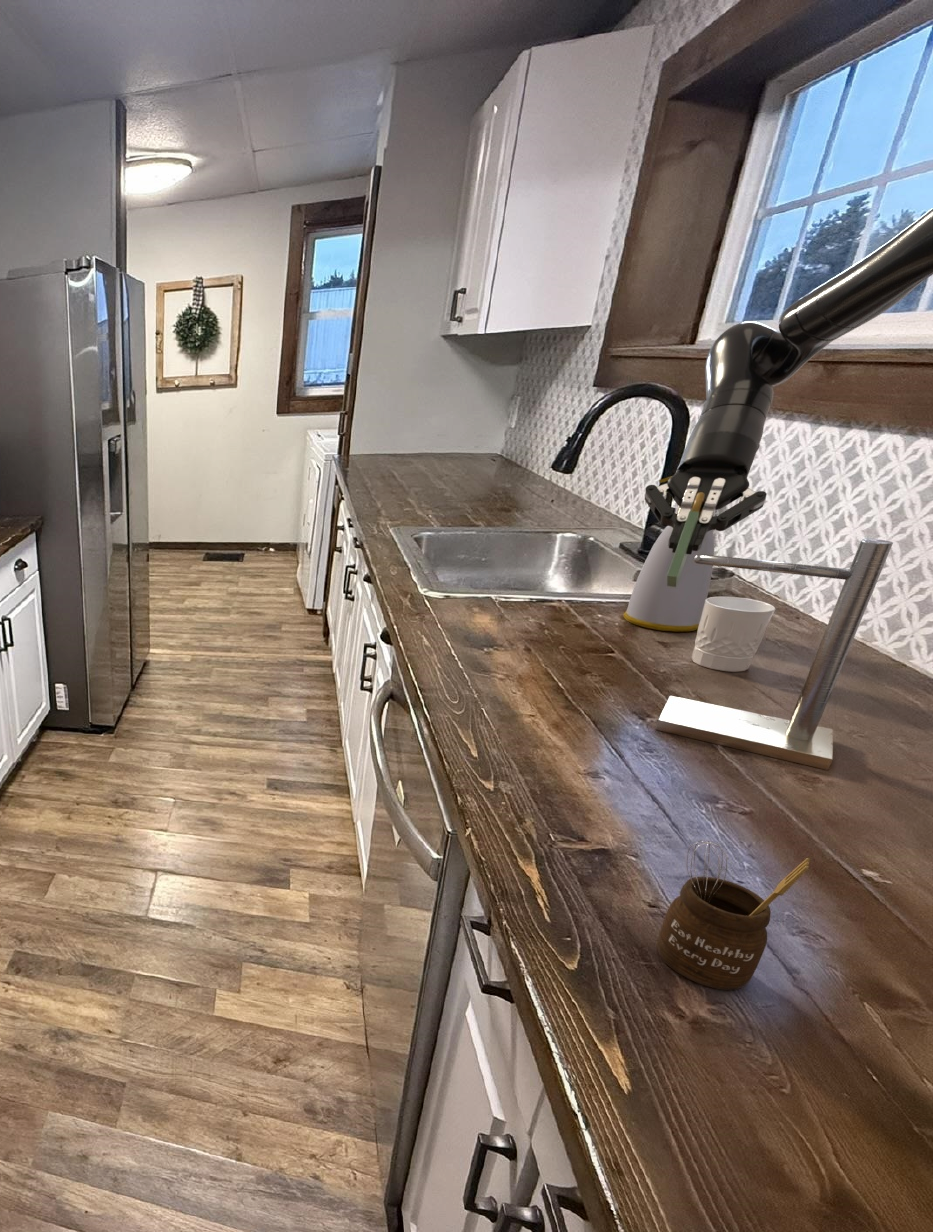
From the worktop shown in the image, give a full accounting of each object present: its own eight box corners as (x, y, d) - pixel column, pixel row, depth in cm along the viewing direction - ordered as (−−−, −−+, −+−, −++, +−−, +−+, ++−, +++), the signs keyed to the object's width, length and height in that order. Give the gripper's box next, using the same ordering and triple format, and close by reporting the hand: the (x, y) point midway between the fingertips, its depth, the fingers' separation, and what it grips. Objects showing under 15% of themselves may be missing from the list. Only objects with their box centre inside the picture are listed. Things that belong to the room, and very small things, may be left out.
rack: (639, 726, 96) (698, 534, 86) (652, 701, 102) (708, 520, 92) (828, 770, 84) (921, 553, 74) (829, 739, 90) (915, 536, 81)
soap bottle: (636, 609, 138) (675, 470, 128) (712, 624, 129) (761, 475, 119) (608, 621, 133) (647, 477, 123) (685, 637, 124) (734, 483, 114)
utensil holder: (660, 927, 63) (701, 812, 58) (758, 965, 58) (811, 844, 54) (646, 964, 59) (689, 844, 54) (750, 1008, 55) (806, 882, 50)
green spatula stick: (667, 575, 96) (696, 489, 95) (667, 586, 100) (695, 503, 100) (676, 577, 95) (706, 490, 95) (676, 587, 100) (704, 504, 99)
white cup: (758, 677, 108) (781, 614, 104) (690, 668, 112) (710, 607, 108) (747, 659, 114) (768, 599, 110) (683, 651, 118) (701, 593, 114)
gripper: (662, 428, 102) (622, 529, 99) (794, 430, 93) (755, 541, 90) (657, 462, 107) (619, 558, 104) (782, 467, 98) (744, 572, 95)
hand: (682, 550), depth 97 cm, fingers closed on green spatula stick, 1 cm apart
